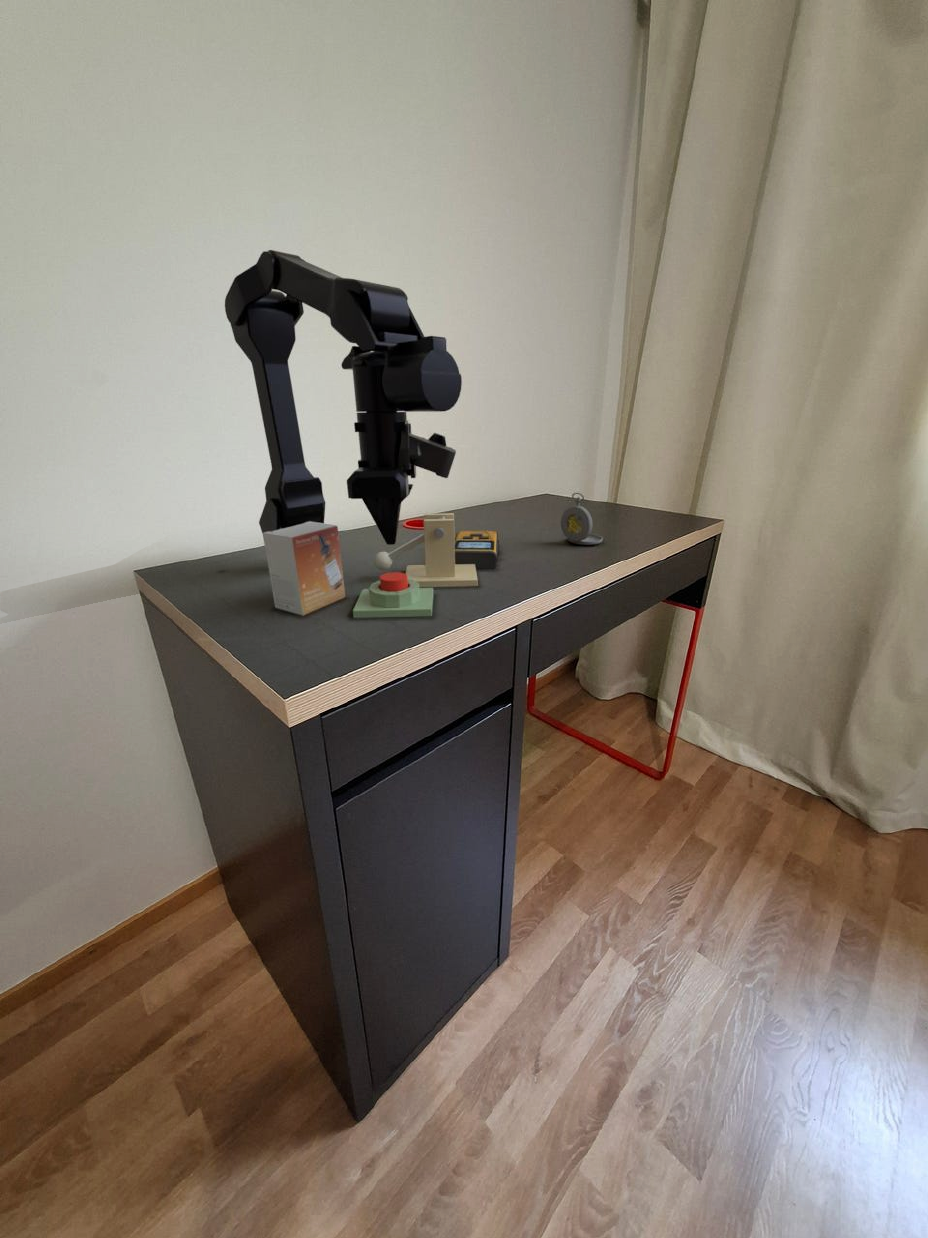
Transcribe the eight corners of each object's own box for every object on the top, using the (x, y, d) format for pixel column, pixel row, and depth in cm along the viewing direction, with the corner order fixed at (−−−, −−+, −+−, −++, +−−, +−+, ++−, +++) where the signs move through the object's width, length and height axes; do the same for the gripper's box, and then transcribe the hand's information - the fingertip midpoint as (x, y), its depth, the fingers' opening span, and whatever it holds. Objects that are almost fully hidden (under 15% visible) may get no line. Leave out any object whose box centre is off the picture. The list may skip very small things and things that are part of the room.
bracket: (403, 588, 72) (399, 523, 69) (407, 572, 80) (404, 512, 76) (477, 587, 73) (477, 522, 69) (474, 570, 80) (474, 510, 76)
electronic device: (499, 546, 94) (499, 529, 93) (498, 571, 80) (499, 550, 79) (455, 546, 95) (455, 528, 94) (447, 570, 81) (447, 550, 79)
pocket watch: (601, 538, 98) (607, 487, 94) (602, 550, 91) (608, 495, 87) (560, 537, 100) (563, 486, 96) (558, 547, 92) (561, 494, 88)
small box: (302, 617, 63) (290, 537, 59) (274, 609, 66) (260, 532, 62) (347, 598, 69) (338, 524, 65) (319, 591, 72) (309, 520, 68)
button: (379, 593, 63) (378, 581, 63) (382, 584, 67) (381, 572, 66) (407, 593, 63) (406, 580, 63) (409, 584, 67) (408, 571, 66)
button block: (353, 619, 62) (351, 597, 61) (363, 597, 70) (361, 577, 68) (431, 617, 63) (430, 595, 61) (433, 595, 70) (432, 575, 69)
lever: (379, 575, 74) (369, 560, 73) (381, 569, 77) (371, 554, 76) (452, 534, 72) (442, 518, 71) (452, 530, 75) (443, 514, 74)
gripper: (451, 411, 48) (455, 564, 54) (450, 410, 65) (453, 526, 71) (338, 413, 48) (354, 566, 54) (367, 411, 65) (376, 527, 71)
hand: (391, 543), depth 63 cm, fingers closed
